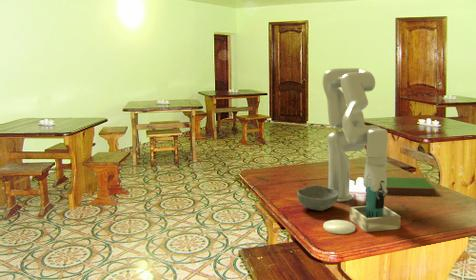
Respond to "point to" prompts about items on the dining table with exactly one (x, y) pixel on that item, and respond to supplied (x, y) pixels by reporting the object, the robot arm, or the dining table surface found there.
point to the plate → (339, 227)
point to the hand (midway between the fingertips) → (374, 204)
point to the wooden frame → (375, 219)
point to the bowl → (317, 197)
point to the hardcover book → (409, 186)
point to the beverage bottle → (372, 204)
